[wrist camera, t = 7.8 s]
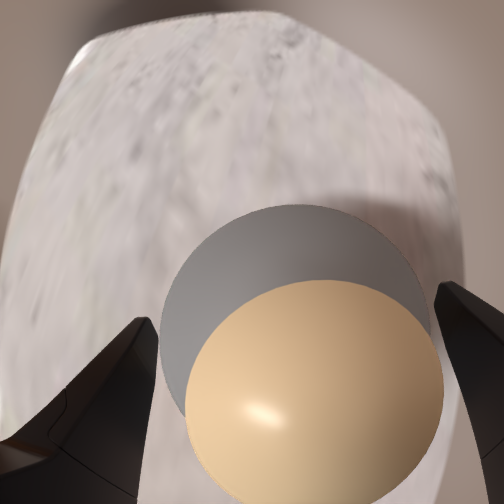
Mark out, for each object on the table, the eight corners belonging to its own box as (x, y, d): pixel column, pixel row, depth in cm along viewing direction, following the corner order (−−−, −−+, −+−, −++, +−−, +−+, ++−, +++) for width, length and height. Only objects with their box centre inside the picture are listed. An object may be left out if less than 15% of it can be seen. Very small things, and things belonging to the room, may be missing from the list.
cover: (460, 363, 15) (643, 392, 2) (257, 498, 14) (209, 673, 2) (326, 167, 18) (360, -37, 5) (126, 302, 18) (-75, 261, 5)
